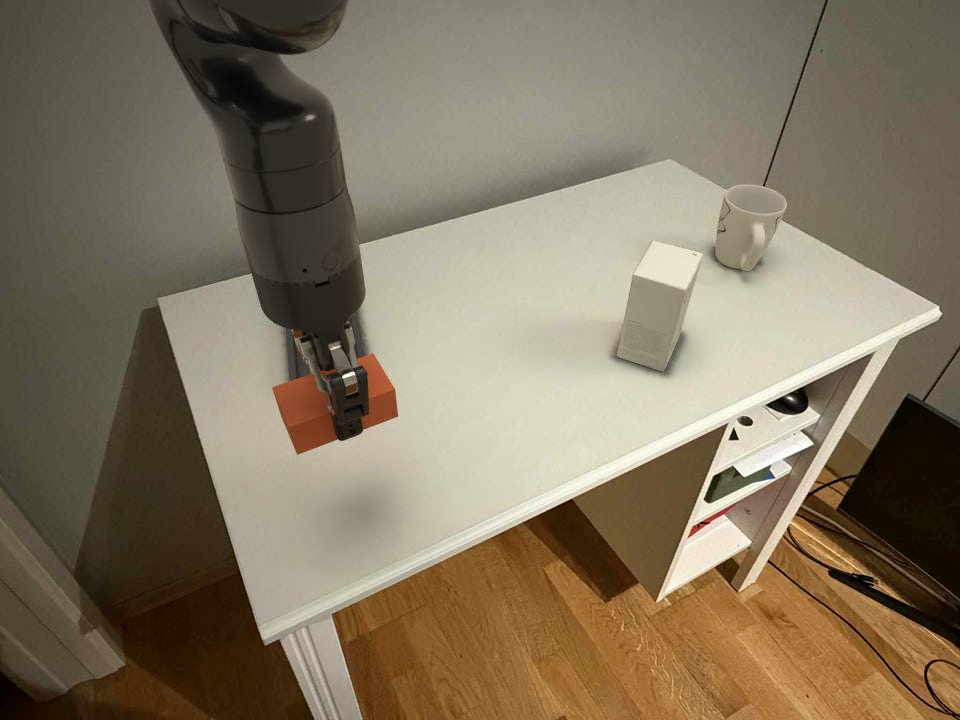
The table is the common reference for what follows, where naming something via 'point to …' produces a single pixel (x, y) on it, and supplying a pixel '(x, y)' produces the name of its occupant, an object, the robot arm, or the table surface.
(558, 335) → the table surface
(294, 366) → the frame
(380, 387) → the orange block
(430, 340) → the table surface
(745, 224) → the mug
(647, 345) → the small box
